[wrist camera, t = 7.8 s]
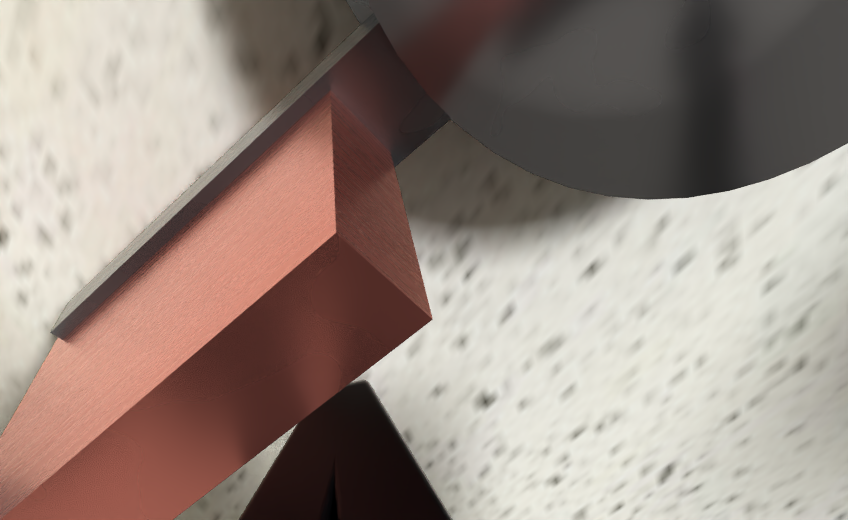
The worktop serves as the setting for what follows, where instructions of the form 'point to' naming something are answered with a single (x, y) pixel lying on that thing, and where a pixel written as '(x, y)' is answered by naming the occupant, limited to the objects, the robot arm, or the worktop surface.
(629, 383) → the worktop surface
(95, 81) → the worktop surface
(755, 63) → the handwheel
